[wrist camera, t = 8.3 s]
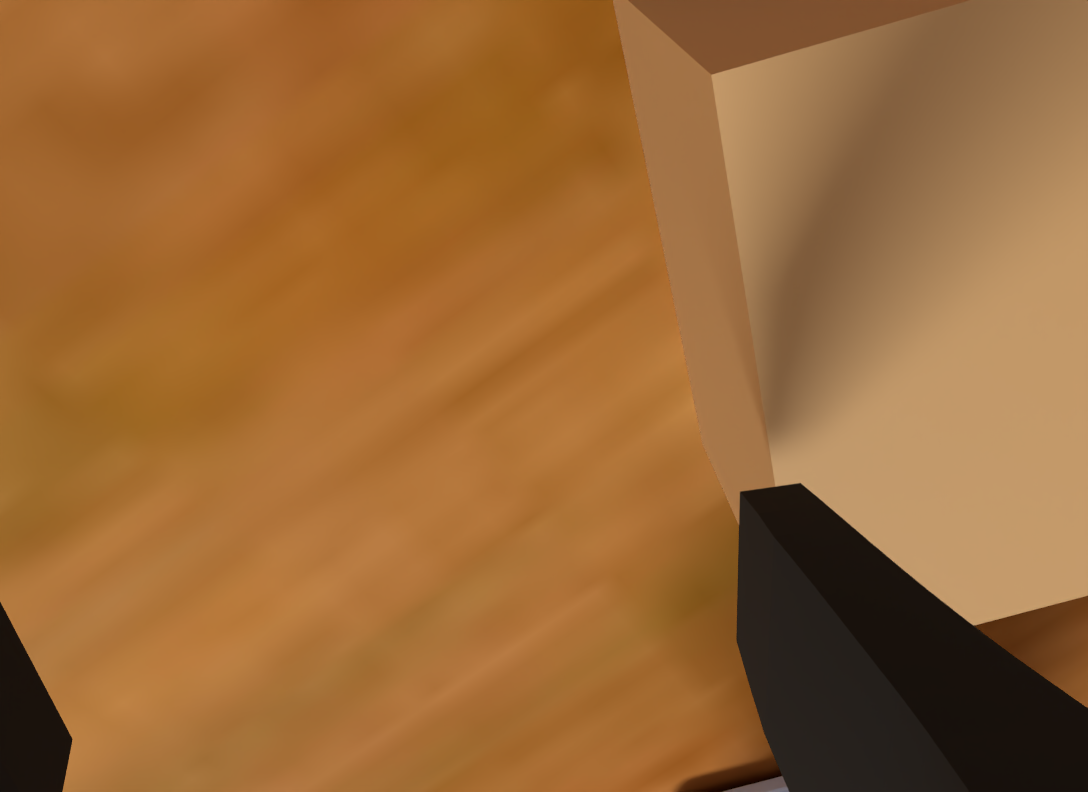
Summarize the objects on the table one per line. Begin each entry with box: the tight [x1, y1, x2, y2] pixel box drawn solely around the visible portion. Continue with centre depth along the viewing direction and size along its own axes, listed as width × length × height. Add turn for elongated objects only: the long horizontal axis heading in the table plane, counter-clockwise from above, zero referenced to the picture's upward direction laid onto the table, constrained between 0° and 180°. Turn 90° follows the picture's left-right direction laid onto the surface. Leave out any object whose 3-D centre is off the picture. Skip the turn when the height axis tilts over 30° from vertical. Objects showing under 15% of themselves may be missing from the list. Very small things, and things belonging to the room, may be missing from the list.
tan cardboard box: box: [613, 0, 1088, 626], centre depth 13 cm, size 8×8×5 cm
